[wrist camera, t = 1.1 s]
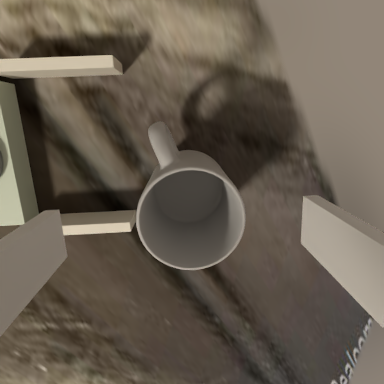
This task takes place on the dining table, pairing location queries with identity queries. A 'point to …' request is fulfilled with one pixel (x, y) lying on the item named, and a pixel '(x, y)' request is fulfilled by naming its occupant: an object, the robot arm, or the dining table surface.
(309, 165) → the dining table surface
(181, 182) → the mug
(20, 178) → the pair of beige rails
